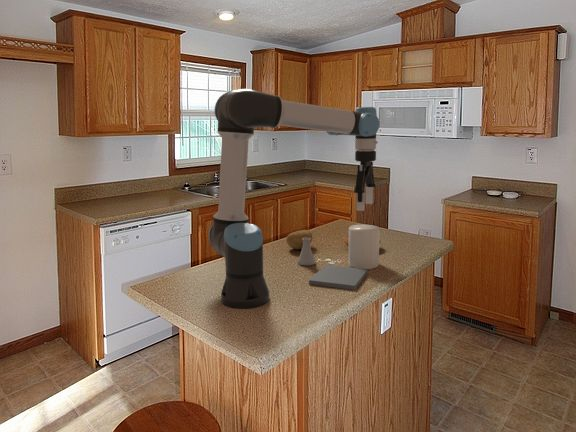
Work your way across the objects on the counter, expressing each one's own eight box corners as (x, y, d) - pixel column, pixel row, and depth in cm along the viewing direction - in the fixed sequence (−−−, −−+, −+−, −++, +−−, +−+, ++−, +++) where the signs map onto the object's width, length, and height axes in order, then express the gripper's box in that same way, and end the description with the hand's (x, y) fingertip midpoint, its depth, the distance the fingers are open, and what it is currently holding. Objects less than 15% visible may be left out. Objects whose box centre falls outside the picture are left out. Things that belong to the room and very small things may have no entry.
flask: (314, 266, 184) (314, 241, 182) (295, 265, 186) (295, 240, 183) (317, 261, 191) (317, 236, 189) (299, 260, 192) (299, 236, 190)
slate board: (354, 290, 159) (354, 285, 159) (309, 284, 165) (309, 280, 165) (367, 273, 175) (367, 269, 175) (325, 268, 181) (325, 264, 181)
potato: (318, 246, 212) (318, 229, 210) (299, 254, 201) (299, 235, 199) (301, 243, 218) (300, 226, 216) (281, 250, 207) (281, 232, 205)
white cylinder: (374, 270, 179) (375, 232, 176) (345, 267, 183) (345, 229, 180) (380, 261, 189) (381, 225, 186) (352, 259, 193) (353, 223, 190)
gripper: (367, 153, 164) (366, 214, 169) (382, 147, 187) (381, 201, 191) (346, 152, 167) (346, 212, 171) (363, 147, 189) (363, 200, 194)
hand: (364, 207), depth 181 cm, fingers open, 13 cm apart
